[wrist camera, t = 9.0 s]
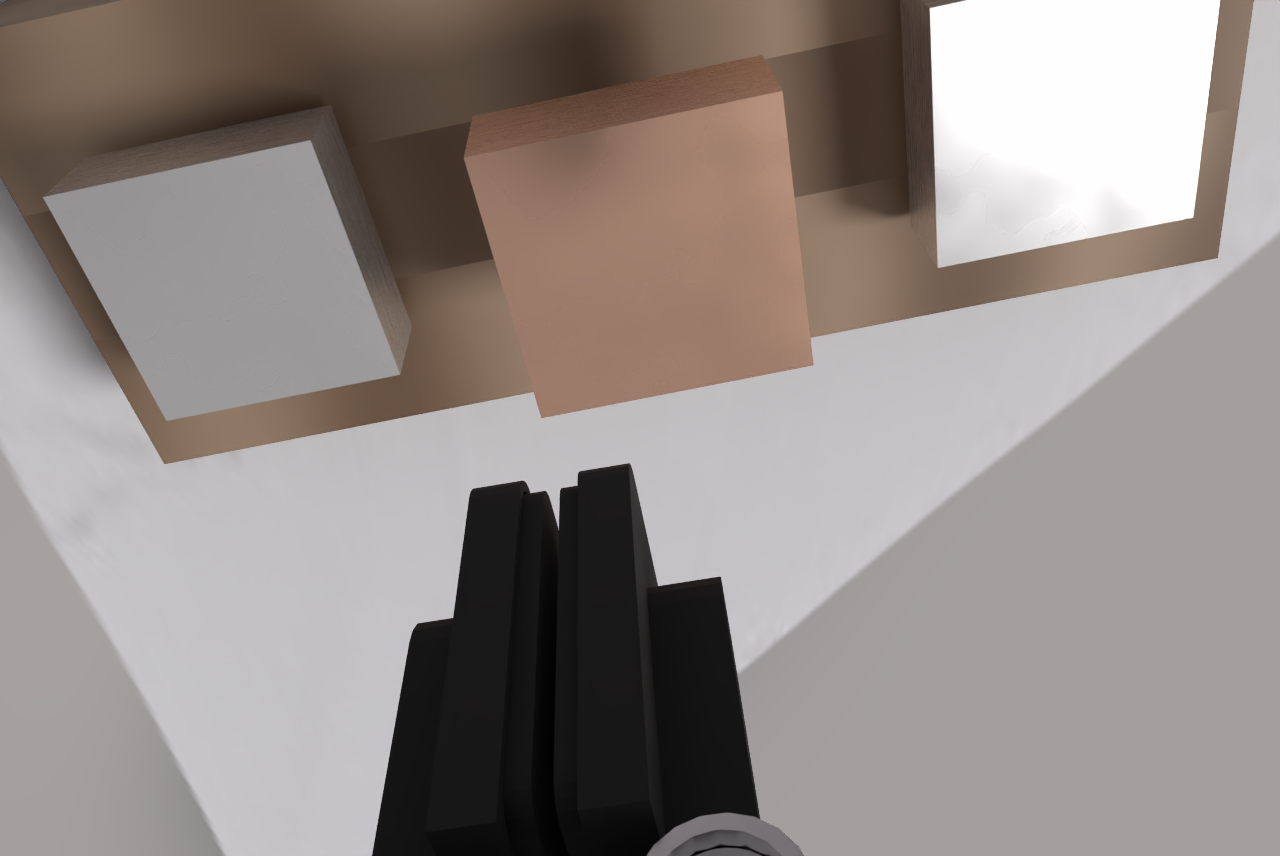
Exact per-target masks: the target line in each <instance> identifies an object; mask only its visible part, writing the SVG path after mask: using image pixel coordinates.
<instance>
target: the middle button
mask: <svg viewBox="0 0 1280 856" xmlns="http://www.w3.org/2000/svg"><path fill="white" fill-rule="evenodd" d="M464 161H465V164H466V167H467V171H468V174H469V177H470V181H471V184H472V187H473V191H474V194H475V197H476V201H477V204H478V207H479V211H480V214H481V217H482V221H483V224H484V227H485V231H486V234H487V237H488V241H489V244H490V247H491V251H492V254H493V257H494V261H495V264H496V267H497V271H498V274H499V278H500V281H501V284H502V288H503V291H504V294H505V298H506V301H507V304H508V308H509V311H510V314H511V318H512V321H513V324H514V328H515V331H516V334H517V338H518V341H519V344H520V348H521V351H522V354H523V358H524V361H525V364H526V368H527V371H528V374H529V378H530V381H531V384H532V388H533V391H534V394H535V398H536V401H537V404H538V408H539V411H540V414H541V418H544V417H549V416H554V415H560V414H565V413H570V412H575V411H580V410H585V409H591V408H596V407H601V406H606V405H611V404H616V403H621V402H627V401H632V400H637V399H642V398H647V397H652V396H657V395H663V394H668V393H673V392H678V391H683V390H688V389H694V388H699V387H704V386H709V385H714V384H719V383H724V382H730V381H735V380H740V379H745V378H750V377H755V376H760V375H766V374H771V373H776V372H781V371H786V370H791V369H796V368H802V367H807V366H812V365H813V357H812V348H811V340H810V331H809V322H808V313H807V304H806V295H805V286H804V278H803V269H802V260H801V251H800V242H799V233H798V224H797V215H796V207H795V198H794V189H793V180H792V171H791V162H790V153H789V144H788V136H787V127H786V118H785V109H784V100H783V91H782V89H781V87H780V86H779V84H778V82H777V80H776V79H775V77H774V75H773V73H772V72H771V70H770V68H769V66H768V64H767V63H766V61H765V59H764V57H763V56H762V55H758V56H753V57H749V58H744V59H739V60H734V61H730V62H725V63H720V64H716V65H711V66H706V67H702V68H697V69H692V70H687V71H683V72H678V73H673V74H669V75H664V76H659V77H654V78H650V79H645V80H640V81H636V82H631V83H626V84H621V85H617V86H612V87H607V88H603V89H598V90H593V91H588V92H584V93H579V94H574V95H570V96H565V97H560V98H555V99H551V100H546V101H541V102H537V103H532V104H527V105H522V106H518V107H513V108H508V109H504V110H499V111H494V112H490V113H485V114H480V115H475V116H473V117H472V122H471V126H470V131H469V136H468V140H467V145H466V149H465V154H464Z"/></svg>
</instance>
